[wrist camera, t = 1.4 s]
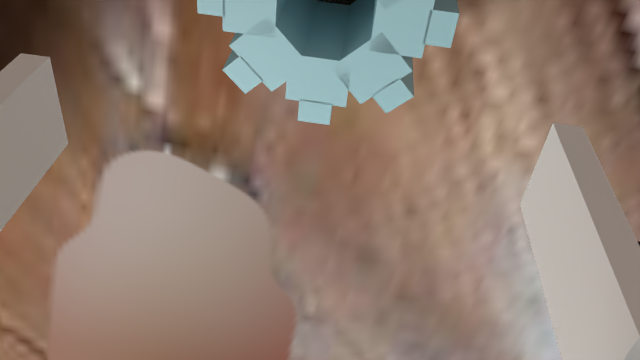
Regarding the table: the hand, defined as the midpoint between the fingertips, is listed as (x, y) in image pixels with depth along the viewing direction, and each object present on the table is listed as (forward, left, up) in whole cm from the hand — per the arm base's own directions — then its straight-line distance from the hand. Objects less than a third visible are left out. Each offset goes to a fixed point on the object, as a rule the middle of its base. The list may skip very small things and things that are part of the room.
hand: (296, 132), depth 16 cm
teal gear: (0, 0, -15) cm, 15 cm away
